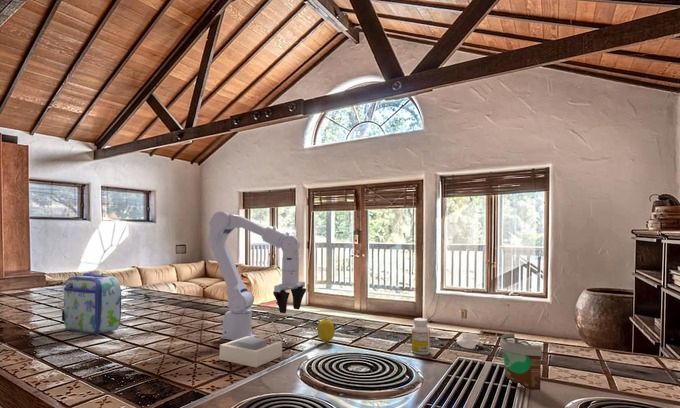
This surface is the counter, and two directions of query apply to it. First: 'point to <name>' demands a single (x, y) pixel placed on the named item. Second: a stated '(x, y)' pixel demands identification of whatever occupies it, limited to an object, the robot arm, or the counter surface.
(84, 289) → the lunch box
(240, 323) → the robot arm
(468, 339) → the whipped cream
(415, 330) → the supplement bottle
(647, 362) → the counter surface
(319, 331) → the lemon
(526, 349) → the food container
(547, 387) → the counter surface
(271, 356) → the tray
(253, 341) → the light grey cube
